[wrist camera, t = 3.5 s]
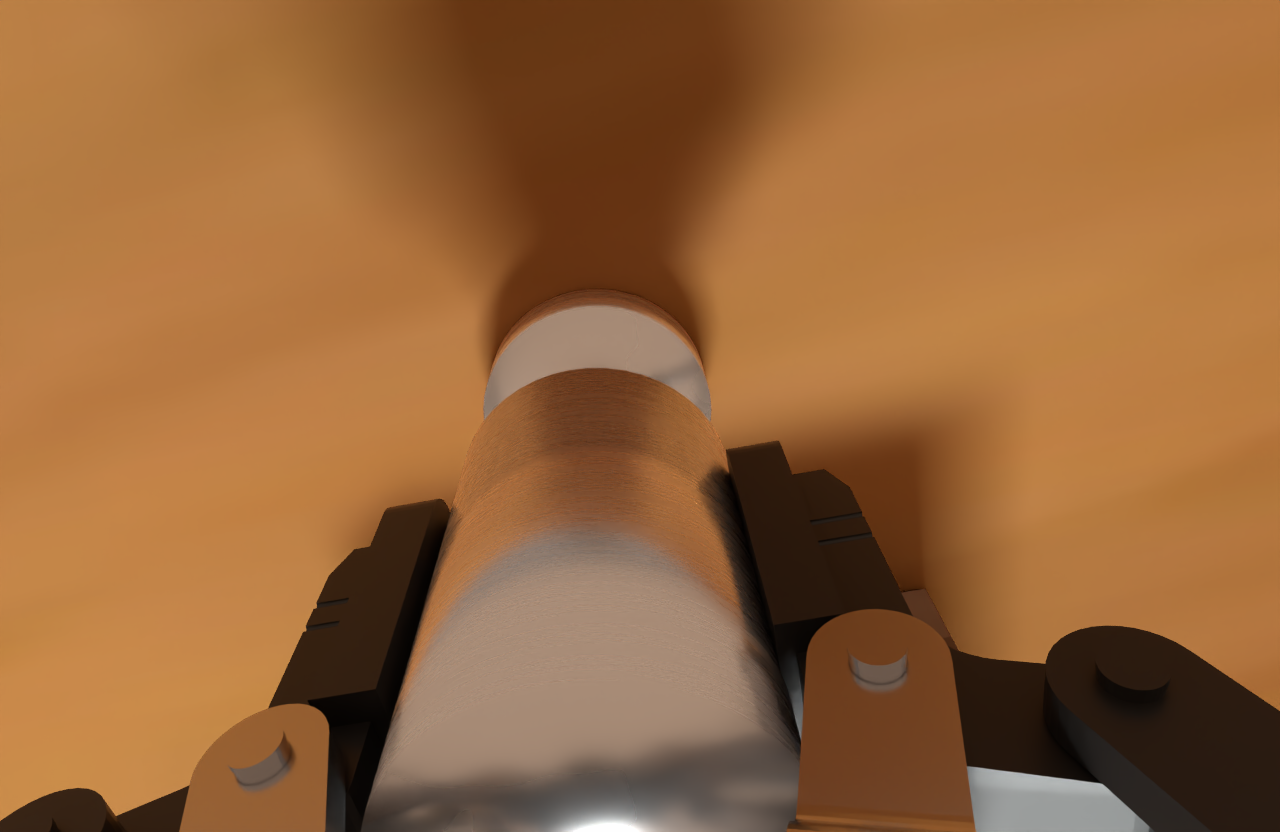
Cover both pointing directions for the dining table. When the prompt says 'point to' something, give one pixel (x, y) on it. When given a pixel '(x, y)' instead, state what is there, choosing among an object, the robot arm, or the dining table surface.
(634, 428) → the steel peg
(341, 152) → the dining table surface
